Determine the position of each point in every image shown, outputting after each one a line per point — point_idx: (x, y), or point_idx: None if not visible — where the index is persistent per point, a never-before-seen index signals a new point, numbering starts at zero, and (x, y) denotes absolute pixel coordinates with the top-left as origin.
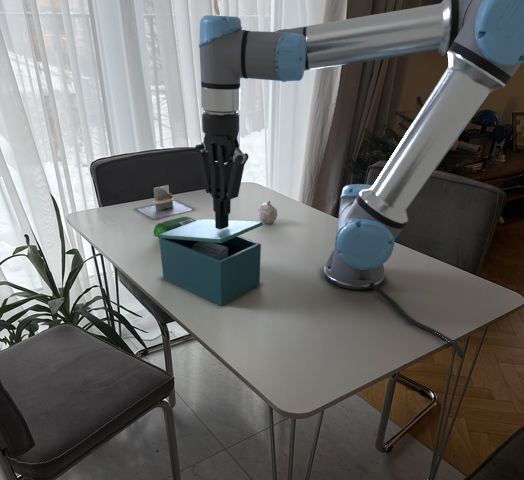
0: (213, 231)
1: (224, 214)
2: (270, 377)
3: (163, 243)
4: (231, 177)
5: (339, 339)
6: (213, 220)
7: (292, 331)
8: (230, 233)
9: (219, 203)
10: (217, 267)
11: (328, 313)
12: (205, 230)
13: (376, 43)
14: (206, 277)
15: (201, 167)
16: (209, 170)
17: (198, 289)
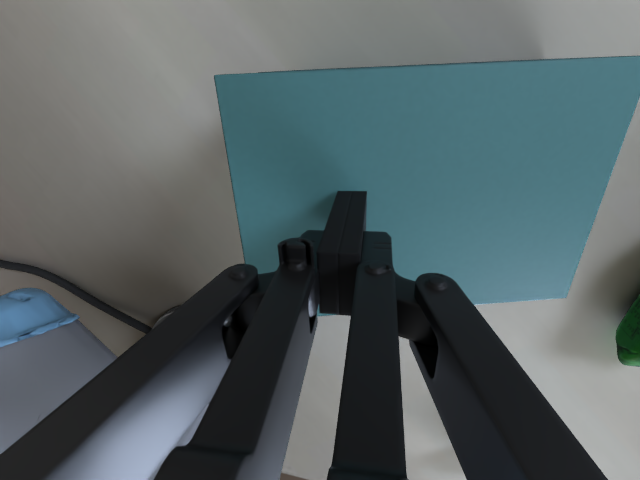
0: (365, 173)
1: (314, 231)
2: None
3: (598, 57)
4: (137, 373)
5: (53, 148)
6: (490, 295)
7: (116, 105)
8: (251, 167)
9: (324, 244)
10: (278, 71)
11: (134, 213)
12: (420, 176)
13: None
14: (341, 68)
15: (567, 438)
16: (472, 437)
17: (382, 66)
